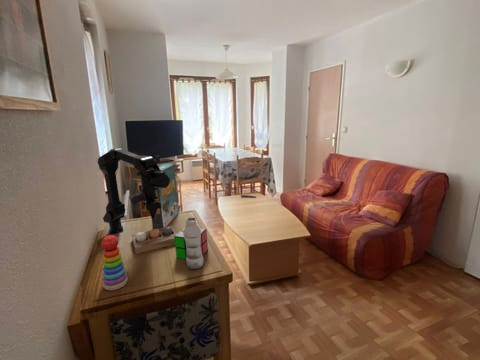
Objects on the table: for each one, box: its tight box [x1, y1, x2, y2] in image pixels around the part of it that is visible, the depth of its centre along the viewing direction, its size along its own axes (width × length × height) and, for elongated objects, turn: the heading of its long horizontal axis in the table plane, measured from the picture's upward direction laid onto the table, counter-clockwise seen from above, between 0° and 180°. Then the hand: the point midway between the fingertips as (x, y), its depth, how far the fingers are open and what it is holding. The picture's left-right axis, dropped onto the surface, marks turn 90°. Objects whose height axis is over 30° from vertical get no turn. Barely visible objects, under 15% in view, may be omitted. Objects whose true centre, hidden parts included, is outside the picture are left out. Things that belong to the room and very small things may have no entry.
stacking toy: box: [101, 234, 129, 291], centre depth 88 cm, size 8×8×19 cm
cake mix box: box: [151, 163, 180, 229], centre depth 140 cm, size 22×6×30 cm, turn 172°
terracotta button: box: [149, 228, 160, 239], centre depth 119 cm, size 4×4×3 cm
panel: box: [131, 225, 178, 255], centre depth 120 cm, size 14×19×3 cm
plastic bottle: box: [183, 217, 204, 270], centre depth 97 cm, size 6×7×20 cm
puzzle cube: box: [174, 226, 209, 260], centre depth 108 cm, size 10×10×10 cm
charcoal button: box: [163, 225, 173, 236], centre depth 122 cm, size 4×4×3 cm
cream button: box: [135, 231, 147, 242], centre depth 116 cm, size 4×4×3 cm
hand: (152, 217), depth 117 cm, fingers closed
